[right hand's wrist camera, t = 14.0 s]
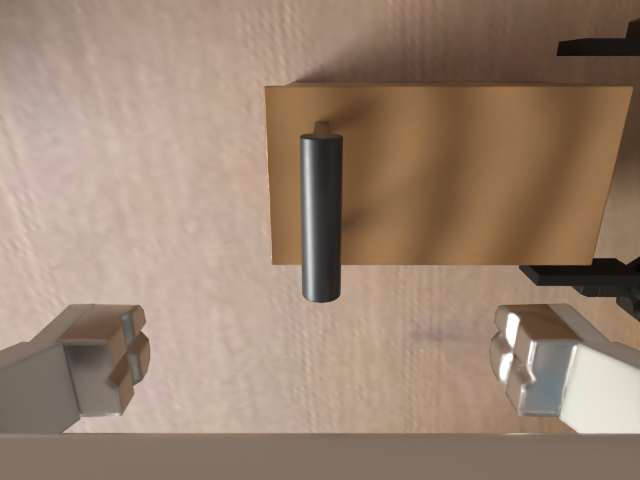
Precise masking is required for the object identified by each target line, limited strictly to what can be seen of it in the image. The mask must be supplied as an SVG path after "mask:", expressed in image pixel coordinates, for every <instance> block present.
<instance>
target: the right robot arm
mask: <svg viewBox="0 0 640 480" xmlns="http://www.w3.org/2000/svg"><path fill="white" fill-rule="evenodd" d="M145 323H146V319H145V314H144V310H143V308H142V307H141V306H140V305H114V304H73V305H69V306H68V307H67V308H66V309H65V310H64V311H63V312H62V313H60V314H59V315H58V316H57V317H56V318H55V319H54V320H53V321H52V322H51V323H50V324H48V325H47V326H46V327H45V328H44V329H43V330H42V331H41V332H40V333H39V334H37V335H36V336H35V337H34V338H33V339H32V340H31V341H30V342H21V343H18V344H16V345H13V346H11V347H8V348H6V349H4V350H1V351H0V480H640V351H639V350H636V349H634V348H631V347H629V346H627V345H624V344H622V343H619V342H610V341H609V340H608V339H607V338H606V337H605V336H604V335H603V334H601V333H600V332H599V331H598V330H597V329H596V328H595V327H594V326H593V325H592V324H591V323H589V322H588V321H587V320H586V319H585V318H584V317H583V316H582V315H581V314H580V313H579V312H577V311H576V310H575V309H574V308H573V307H572V306H571V305H568V304H530V305H502V306H498V308H497V311H496V313H495V319H494V323H495V325H496V326H497V328H498V329H499V332H498V333H497V334H496V335H495V336H494V337H493V338H492V339H491V345H490V362H491V366H492V370H493V373H494V374H495V376H496V378H497V380H498V381H500V382H501V383H503V384H505V385H506V386H507V389H506V395H507V397H508V399H509V401H510V402H511V404H512V406H513V407H514V409H515V411H516V412H517V414H518V416H542V417H560V418H559V419H560V420H562V421H563V422H564V423H566V424H567V425H568V426H570V427H571V428H572V429H574V430H575V431H576V432H578V433H62V432H64V431H65V430H66V429H68V428H69V427H70V426H72V425H73V424H74V423H76V422H77V421H78V420H80V417H98V416H122V414H123V412H124V411H125V409H126V407H127V406H128V404H129V402H130V401H131V399H132V397H133V395H134V389H133V386H134V385H135V384H137V383H139V382H140V381H142V380H143V378H144V376H145V374H146V372H147V370H148V366H149V361H150V344H149V339H148V338H147V337H146V336H145V335H144V334H143V333H142V332H141V329H142V328H143V326H144V325H145Z"/></svg>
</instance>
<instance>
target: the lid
mask: <svg viewBox="0 0 640 480" xmlns="http://www.w3.org/2000/svg"><path fill="white" fill-rule="evenodd" d="M633 89H634V87H633V86H265V87H264V105H265V128H266V151H267V174H268V197H269V220H270V243H271V264H272V265H302V294H303V296H304V298H306V299H307V300H309V301H312V302H318V303H325V302H331V301H334V300H336V299H337V298H338V297H339V296H340V292H341V265H591V264H592V260H593V256H594V252H595V248H596V243H597V239H598V235H599V231H600V227H601V223H602V218H603V214H604V210H605V206H606V202H607V197H608V193H609V189H610V185H611V181H612V177H613V172H614V168H615V164H616V160H617V156H618V152H619V147H620V143H621V139H622V135H623V131H624V126H625V122H626V118H627V114H628V110H629V106H630V101H631V97H632V93H633Z"/></svg>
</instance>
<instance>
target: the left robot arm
mask: <svg viewBox="0 0 640 480" xmlns="http://www.w3.org/2000/svg"><path fill="white" fill-rule="evenodd" d="M557 56H640V18H638V19H636V20H633V21H631V22H629V25H628V29H627V34H626V38H585V39H577V40H569V41H561V42H559V45H558V50H557ZM519 269H520V270H521V271H522V272H523V273H524V274H525V275H526V276H527V277H528V278H530V279H531V280H532V281H533V282H534V283H535V284H536V285H537V286H572V287H573V288H574V289H575V290H576V291H578V292H579V293H580V294H582V295H584V296H587V297H617V299H616V303H617V305H619V306H620V307H621V308H622V309H624V310H625V311H626V312H627V313H629V314H630V315H631V316H633V317H634V318H635V319H636V320H638V321H639V322H640V257H638V258H636V259H635V260H633V261H632V262H630V263H629V264H627V265H625V264H624V263H622V262H620V261H619V260H617V259H616V258H593V260H592V264H591V265H519Z"/></svg>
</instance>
